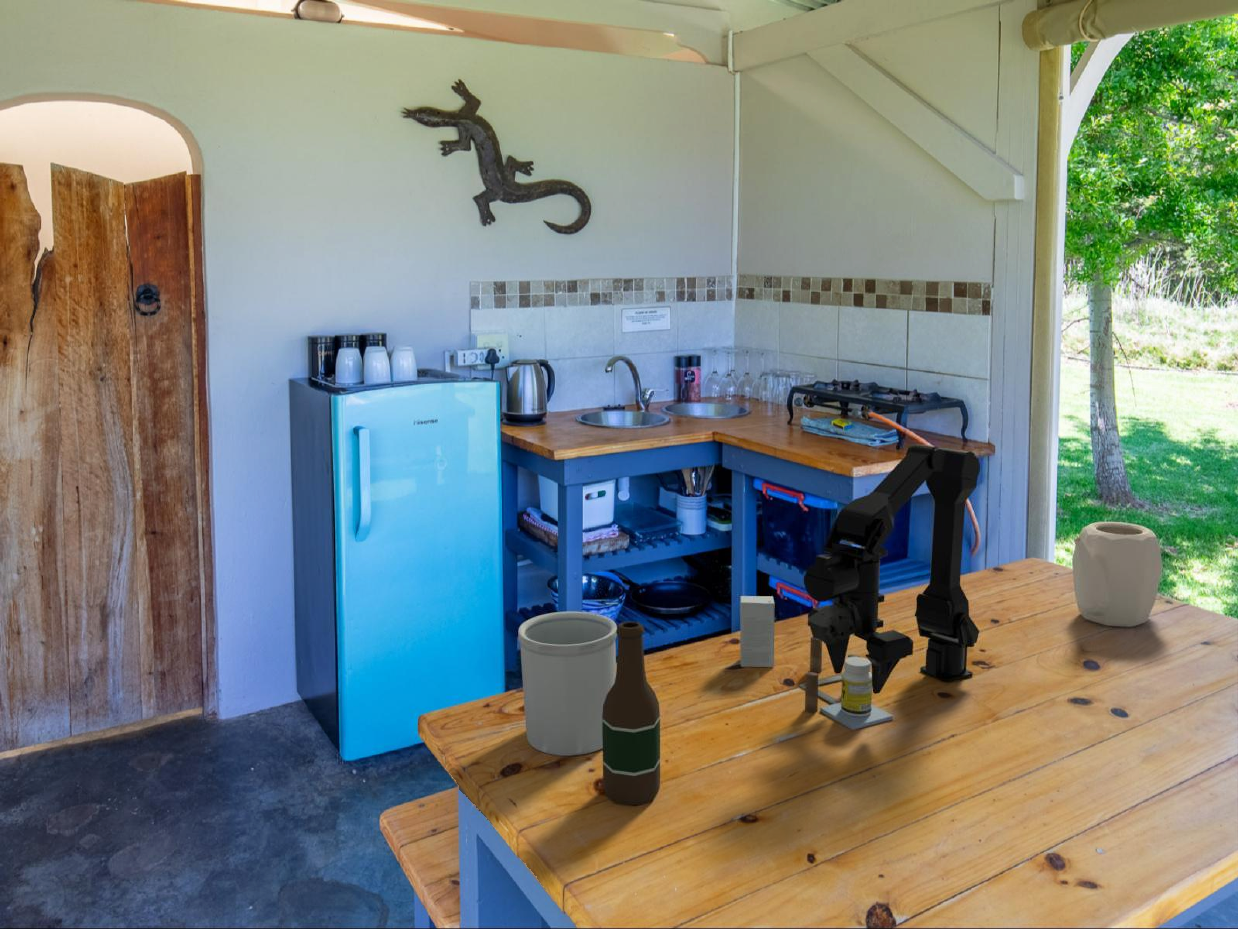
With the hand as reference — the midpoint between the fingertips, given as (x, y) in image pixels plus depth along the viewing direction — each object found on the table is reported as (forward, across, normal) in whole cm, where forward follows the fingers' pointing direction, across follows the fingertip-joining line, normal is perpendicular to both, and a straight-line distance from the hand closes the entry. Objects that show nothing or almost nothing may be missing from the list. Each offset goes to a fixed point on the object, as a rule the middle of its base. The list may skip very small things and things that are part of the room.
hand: (856, 683), depth 166 cm
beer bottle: (+6, +5, -43) cm, 44 cm away
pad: (+5, 0, 0) cm, 5 cm away
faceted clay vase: (+6, -11, +73) cm, 74 cm away
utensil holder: (+6, -15, -43) cm, 46 cm away
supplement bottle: (+5, 0, 0) cm, 5 cm away
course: (+5, -11, +1) cm, 13 cm away
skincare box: (+6, -26, -1) cm, 27 cm away
